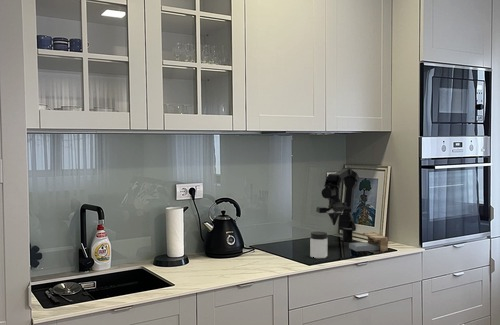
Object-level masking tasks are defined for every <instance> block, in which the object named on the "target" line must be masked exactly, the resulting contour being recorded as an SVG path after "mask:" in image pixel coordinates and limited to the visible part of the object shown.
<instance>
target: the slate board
mask: <svg viewBox="0 0 500 325" xmlns="http://www.w3.org/2000/svg"><path fill="white" fill-rule="evenodd" d="M348 249H350V250H352V251H355V252H368V251H369V252H370V251H380V245H379V244H376V243H374V242H368V241H366V242H365V241H364V242H349V243H348Z"/></svg>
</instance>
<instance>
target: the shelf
mask: <svg viewBox="0 0 500 325" xmlns="http://www.w3.org/2000/svg"><path fill="white" fill-rule="evenodd" d="M362 235H363V236H366V238H367V242H374V243H376V244H379V245H380V250H379V252H388V251H389V237H387V236H384V235H382V234H380V233H377V232H376V231H375V232H369V231H368V232H362Z"/></svg>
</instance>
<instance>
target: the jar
mask: <svg viewBox="0 0 500 325" xmlns="http://www.w3.org/2000/svg"><path fill="white" fill-rule="evenodd" d="M309 240H310V241H309V244H310V246H309V247H310V248H309V251H310V253H309V257H311V258H313V257H314V259H326V258H327V257H328V233H327V232H325V231H312V232H310V239H309Z"/></svg>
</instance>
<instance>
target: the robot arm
mask: <svg viewBox="0 0 500 325" xmlns="http://www.w3.org/2000/svg"><path fill="white" fill-rule="evenodd" d="M359 181H360V176H359V175H358V173H357V172H356V171H354V170H353V169H352V168H351V167H342V168H341V169H340V170H338V171H337V172H335V173H332V172H331V173H328V175H327V176H326V179H325V182H324V186H323V187H324V188H323V189H322V190H321V196H322V198H324V199H327V200H328V205H327V207H325V206H316V211H315V212H316V213H318V214H327V215H328V216H329V218H330V221H331V223H332V225H333V226H335V225H336V223H337V221H338V229H339V230H340V231H342V238H340V241H343V242H345V243H346V242H355V239H353V236H354V235H353V232H356V231H357V224H356V223H355V219H354V216H353V203H354V202H353V201H354V195H355V194H354V193H355V189H356V188H357V187H358V185H359ZM342 183H343V185H344V187H345V195H344V201H343V202H341V198H340V189H341V184H342ZM338 218H339V219H338Z"/></svg>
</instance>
